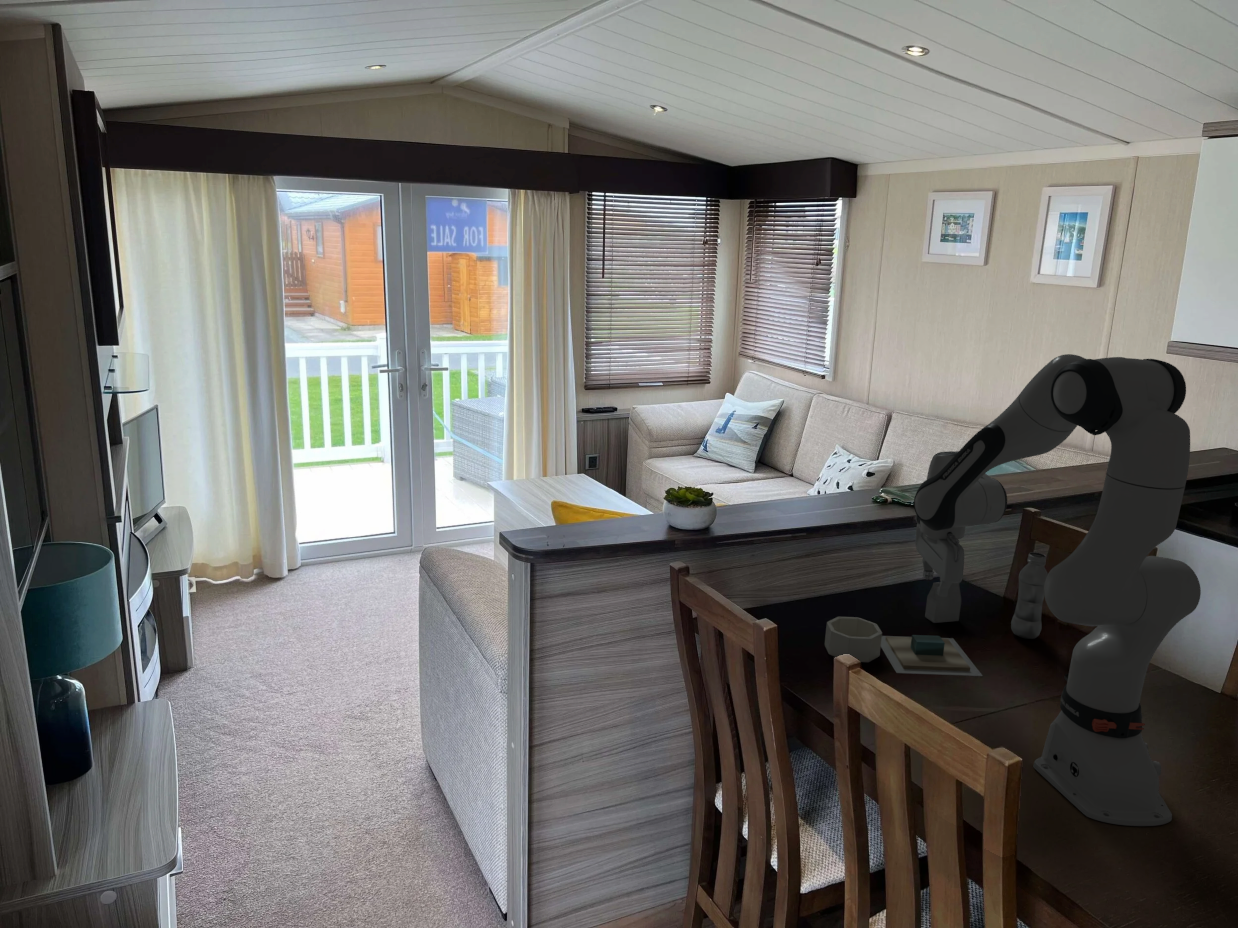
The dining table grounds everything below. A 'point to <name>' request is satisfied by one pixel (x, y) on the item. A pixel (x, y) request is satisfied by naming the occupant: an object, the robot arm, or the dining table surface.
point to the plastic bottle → (1030, 597)
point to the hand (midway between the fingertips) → (934, 586)
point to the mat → (899, 669)
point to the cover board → (926, 660)
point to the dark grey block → (943, 604)
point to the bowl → (853, 638)
